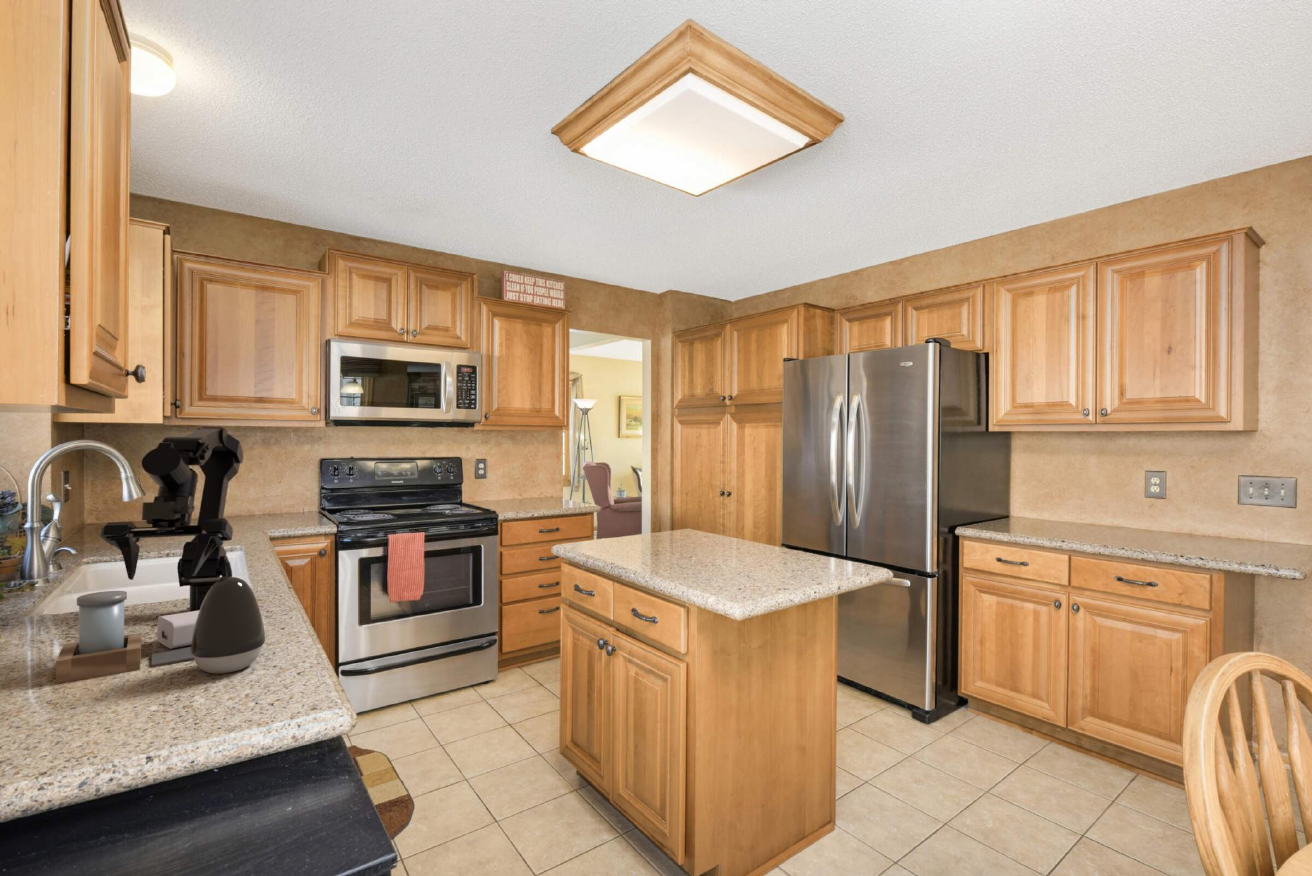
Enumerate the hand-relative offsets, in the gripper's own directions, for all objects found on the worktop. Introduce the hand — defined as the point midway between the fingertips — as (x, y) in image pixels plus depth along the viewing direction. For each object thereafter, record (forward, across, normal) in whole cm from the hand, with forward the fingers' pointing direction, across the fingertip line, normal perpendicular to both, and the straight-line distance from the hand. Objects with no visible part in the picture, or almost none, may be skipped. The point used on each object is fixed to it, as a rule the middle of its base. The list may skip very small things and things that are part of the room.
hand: (162, 577), depth 111 cm
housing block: (+15, -6, 0) cm, 16 cm away
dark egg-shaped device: (+18, +13, -7) cm, 24 cm away
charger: (+10, +6, +10) cm, 15 cm away
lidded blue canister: (+15, -6, 0) cm, 16 cm away
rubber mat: (+14, +4, +1) cm, 15 cm away
